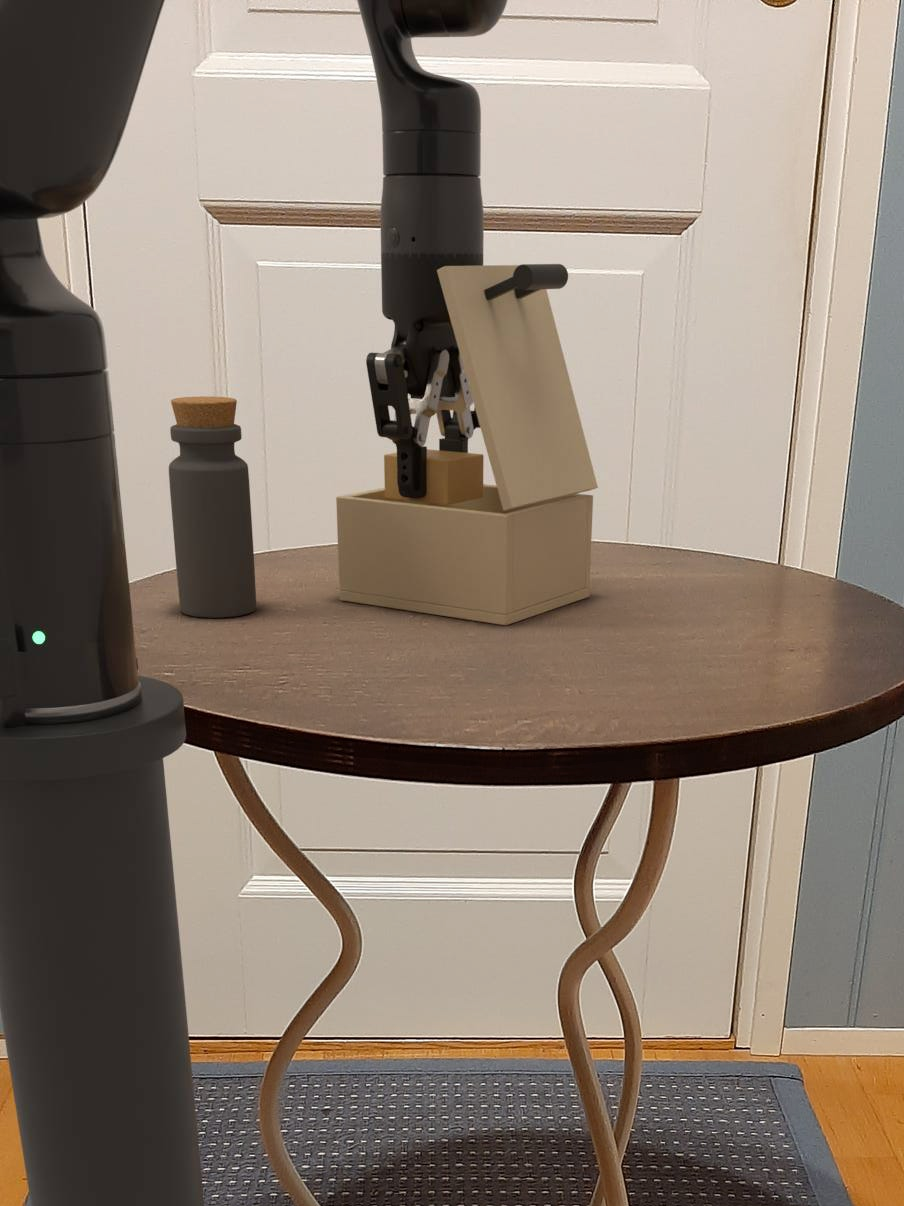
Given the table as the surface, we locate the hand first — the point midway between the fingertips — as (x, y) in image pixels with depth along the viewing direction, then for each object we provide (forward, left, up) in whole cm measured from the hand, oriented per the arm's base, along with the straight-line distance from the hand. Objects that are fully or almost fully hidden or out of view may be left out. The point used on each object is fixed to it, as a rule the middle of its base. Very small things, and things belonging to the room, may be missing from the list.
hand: (433, 491), depth 119 cm
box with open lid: (+1, -3, -8) cm, 8 cm away
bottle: (-17, +6, -8) cm, 19 cm away
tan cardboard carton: (0, 0, 0) cm, 0 cm away
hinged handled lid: (+2, -7, +8) cm, 11 cm away
